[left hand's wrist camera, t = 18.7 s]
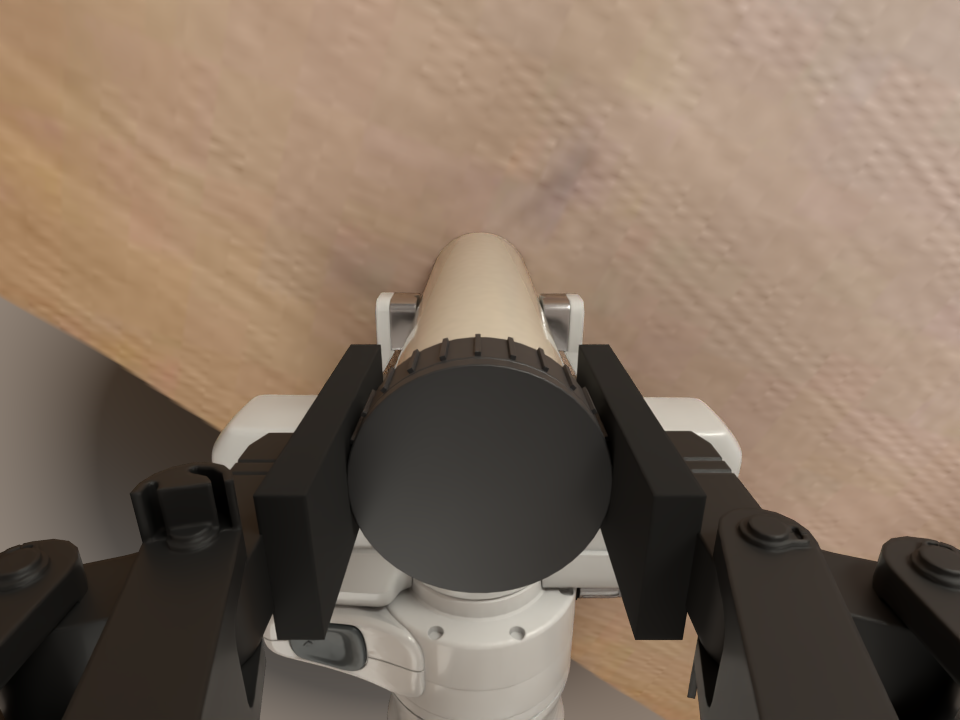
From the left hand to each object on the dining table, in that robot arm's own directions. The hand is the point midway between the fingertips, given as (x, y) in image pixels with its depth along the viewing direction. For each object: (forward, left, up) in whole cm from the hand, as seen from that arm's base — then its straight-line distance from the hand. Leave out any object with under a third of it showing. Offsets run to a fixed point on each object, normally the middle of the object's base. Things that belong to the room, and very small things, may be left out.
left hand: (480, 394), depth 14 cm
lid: (0, 0, +4) cm, 4 cm away
